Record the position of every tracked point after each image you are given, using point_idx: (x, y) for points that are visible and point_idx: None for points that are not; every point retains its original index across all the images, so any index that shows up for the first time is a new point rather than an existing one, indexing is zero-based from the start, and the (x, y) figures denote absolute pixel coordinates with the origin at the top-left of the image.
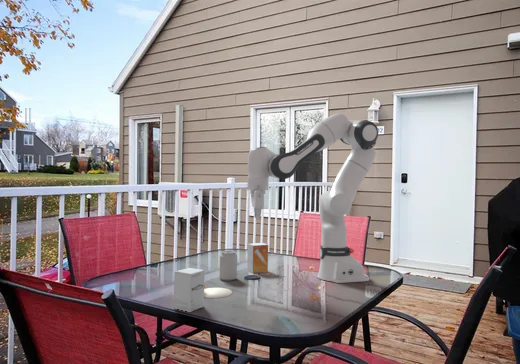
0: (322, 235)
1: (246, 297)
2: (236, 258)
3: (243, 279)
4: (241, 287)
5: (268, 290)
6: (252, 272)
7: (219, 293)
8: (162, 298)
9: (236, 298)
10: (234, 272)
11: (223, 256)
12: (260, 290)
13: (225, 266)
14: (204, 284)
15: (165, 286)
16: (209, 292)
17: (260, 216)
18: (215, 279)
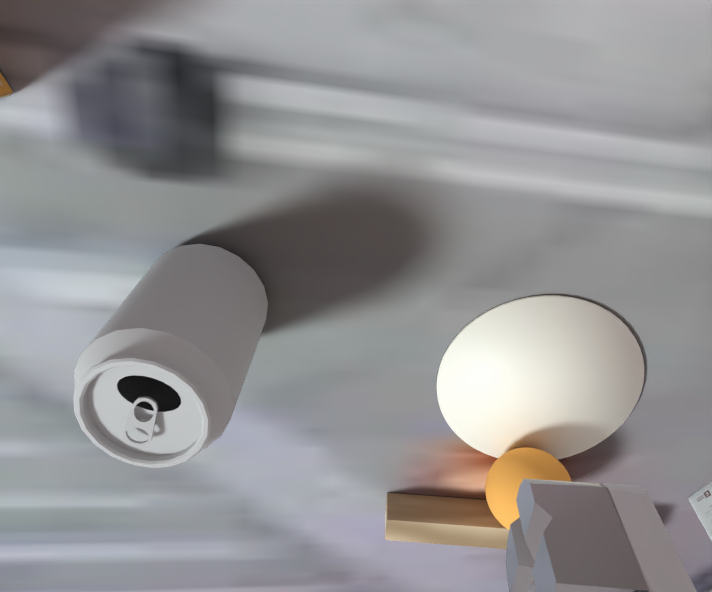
0: None
1: (690, 218)
2: (178, 321)
3: (222, 190)
4: (443, 226)
5: (564, 32)
6: (6, 96)
7: (569, 364)
8: None
9: (689, 279)
10: (236, 282)
11: (217, 437)
12: (549, 98)
13: (246, 372)
14: (547, 468)
15: (366, 579)
16: (534, 411)
17: (684, 571)
18: None
